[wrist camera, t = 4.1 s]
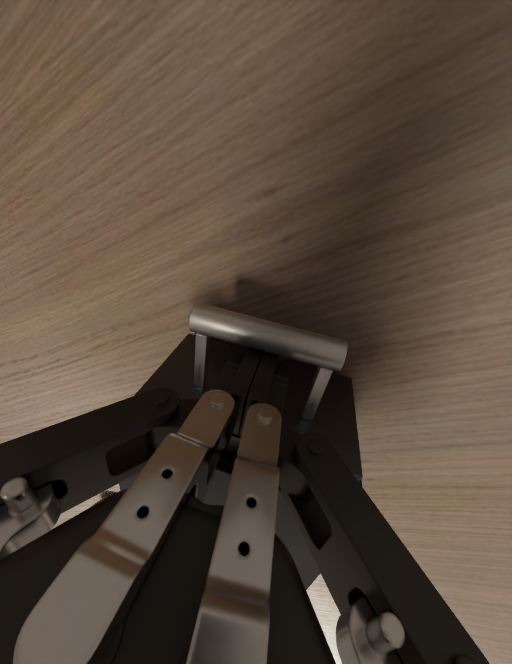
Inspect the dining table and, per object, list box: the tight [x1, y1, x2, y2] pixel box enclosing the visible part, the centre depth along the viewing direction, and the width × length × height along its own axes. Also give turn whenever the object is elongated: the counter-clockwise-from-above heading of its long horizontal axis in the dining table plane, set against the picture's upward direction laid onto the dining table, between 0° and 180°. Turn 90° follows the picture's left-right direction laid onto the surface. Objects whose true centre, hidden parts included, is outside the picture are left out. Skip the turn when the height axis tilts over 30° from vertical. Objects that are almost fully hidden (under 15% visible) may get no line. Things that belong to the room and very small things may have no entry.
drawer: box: [134, 302, 363, 482], centre depth 17 cm, size 18×11×7 cm, turn 171°
